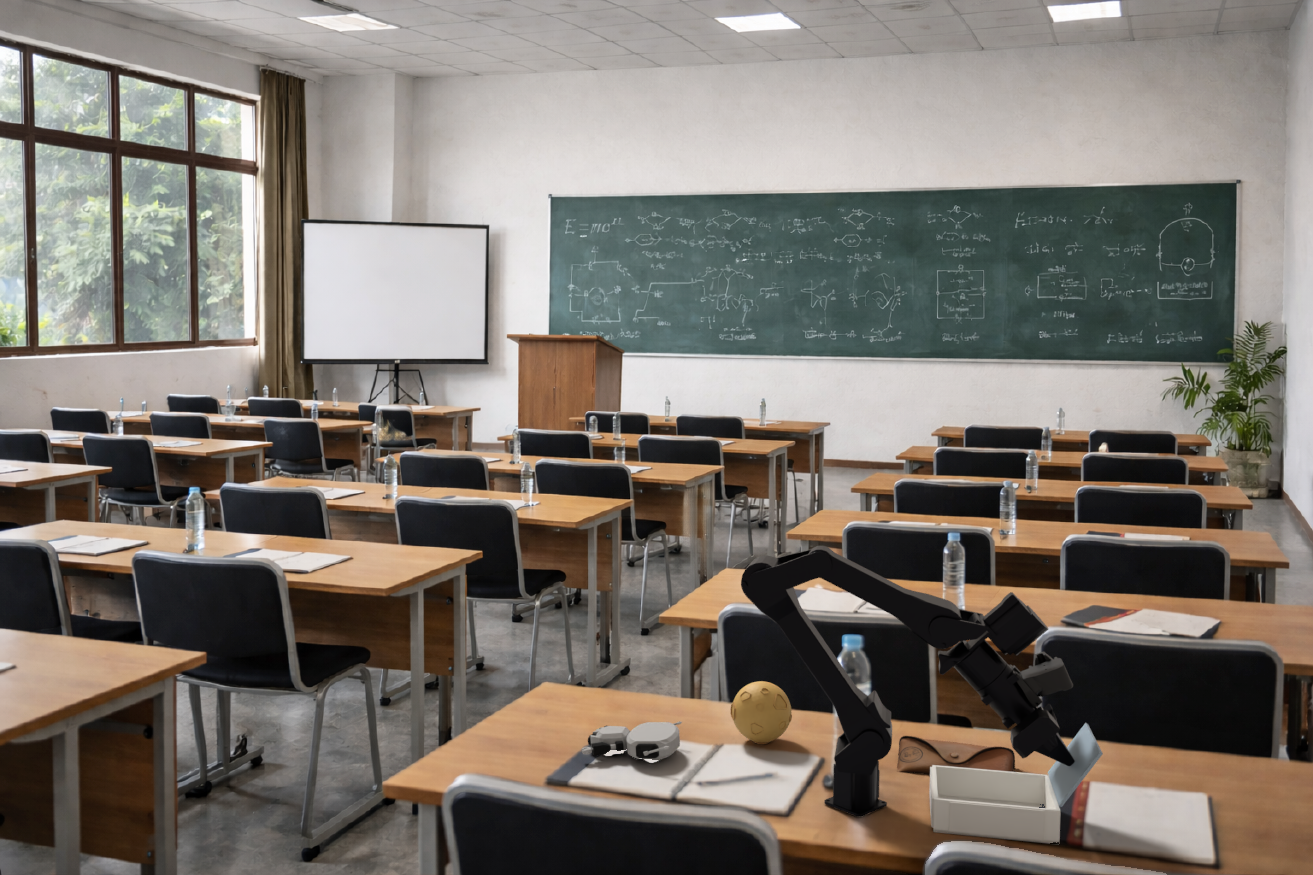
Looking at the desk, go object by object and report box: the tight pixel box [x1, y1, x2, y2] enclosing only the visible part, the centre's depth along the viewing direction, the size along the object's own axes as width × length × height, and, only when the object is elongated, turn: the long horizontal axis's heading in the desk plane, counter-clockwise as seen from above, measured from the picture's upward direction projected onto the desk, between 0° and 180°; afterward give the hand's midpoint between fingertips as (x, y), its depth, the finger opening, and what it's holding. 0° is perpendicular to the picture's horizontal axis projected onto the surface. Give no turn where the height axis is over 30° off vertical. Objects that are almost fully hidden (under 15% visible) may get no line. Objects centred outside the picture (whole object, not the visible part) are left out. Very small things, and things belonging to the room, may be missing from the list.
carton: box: [928, 765, 1061, 844], centre depth 152 cm, size 16×14×4 cm
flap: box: [1047, 722, 1103, 808], centre depth 149 cm, size 1×12×9 cm
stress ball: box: [730, 680, 793, 745], centre depth 182 cm, size 10×10×10 cm
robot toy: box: [581, 720, 683, 761], centre depth 176 cm, size 12×4×15 cm
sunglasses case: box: [896, 735, 1016, 776], centre depth 171 cm, size 18×7×7 cm, turn 73°
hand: (1071, 763), depth 149 cm, fingers closed, pressing on flap
